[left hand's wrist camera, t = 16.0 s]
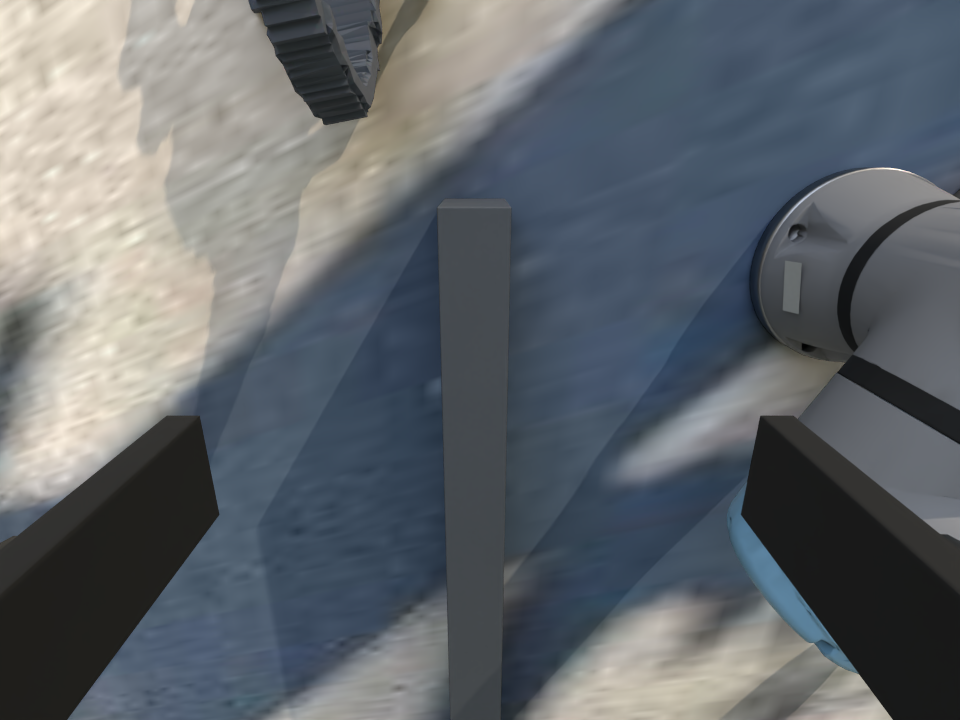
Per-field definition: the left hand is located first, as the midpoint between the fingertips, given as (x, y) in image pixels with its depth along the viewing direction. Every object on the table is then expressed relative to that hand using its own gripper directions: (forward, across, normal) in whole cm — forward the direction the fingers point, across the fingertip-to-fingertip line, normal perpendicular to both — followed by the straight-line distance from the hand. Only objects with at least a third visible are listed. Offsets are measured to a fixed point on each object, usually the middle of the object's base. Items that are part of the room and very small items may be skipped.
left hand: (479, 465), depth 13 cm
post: (+33, 0, -28) cm, 43 cm away
